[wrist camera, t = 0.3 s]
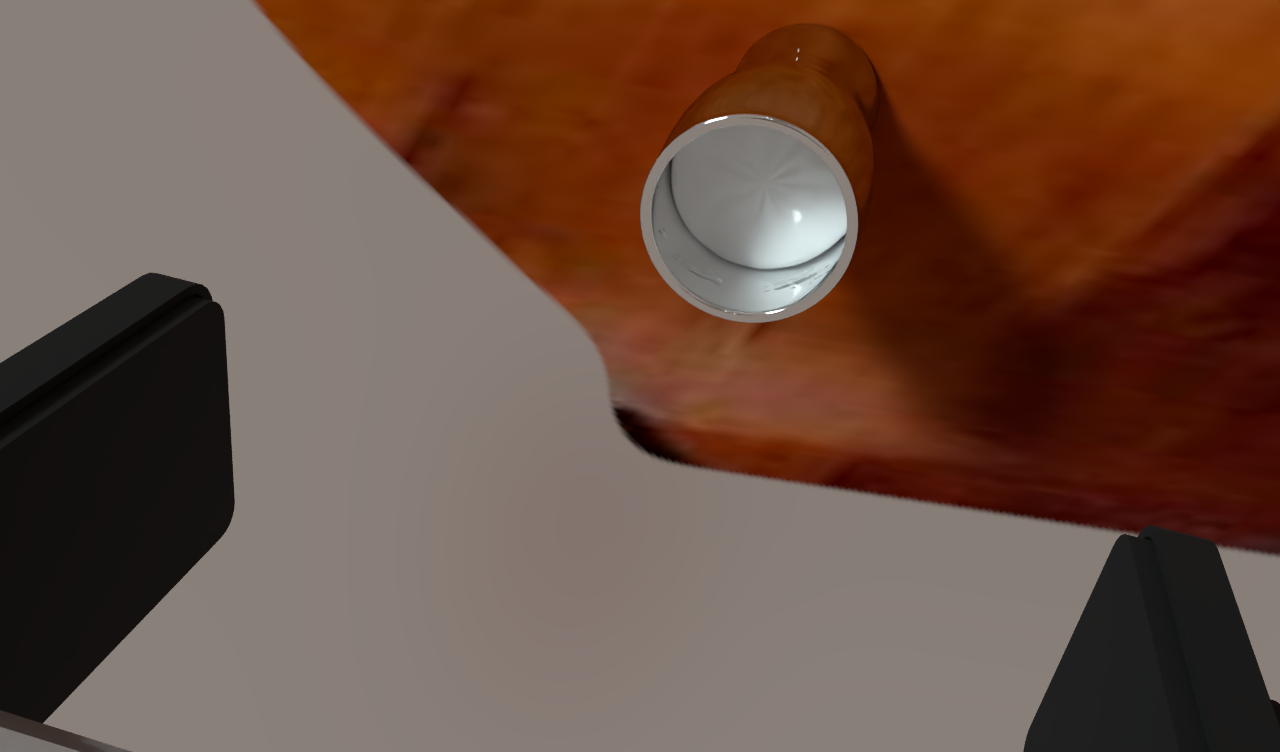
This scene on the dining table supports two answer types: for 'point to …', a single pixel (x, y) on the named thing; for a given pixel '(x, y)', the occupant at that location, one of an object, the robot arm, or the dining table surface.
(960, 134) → the dining table surface
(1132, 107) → the dining table surface
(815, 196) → the beer glass
